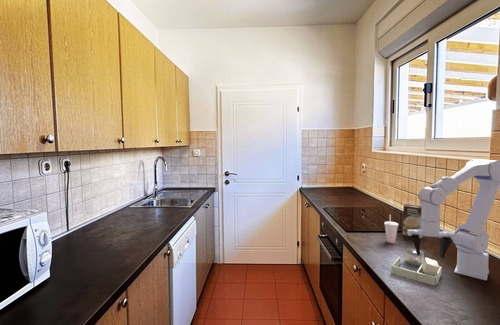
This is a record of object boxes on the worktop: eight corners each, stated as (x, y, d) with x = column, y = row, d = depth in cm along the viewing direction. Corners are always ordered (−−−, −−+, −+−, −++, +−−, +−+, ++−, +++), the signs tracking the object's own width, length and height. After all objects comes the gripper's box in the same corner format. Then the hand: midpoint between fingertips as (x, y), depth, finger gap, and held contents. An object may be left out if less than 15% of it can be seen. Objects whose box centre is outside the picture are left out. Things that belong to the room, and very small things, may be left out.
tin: (425, 262, 115) (425, 251, 114) (421, 267, 110) (422, 256, 110) (407, 257, 119) (407, 247, 119) (403, 262, 114) (403, 251, 114)
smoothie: (385, 238, 143) (386, 212, 142) (399, 241, 139) (399, 214, 138) (382, 242, 138) (382, 215, 137) (396, 245, 134) (397, 217, 133)
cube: (433, 269, 103) (436, 261, 102) (435, 276, 100) (439, 267, 98) (421, 265, 105) (424, 257, 103) (423, 272, 101) (427, 263, 100)
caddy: (441, 274, 104) (441, 266, 103) (436, 286, 96) (436, 277, 95) (399, 263, 114) (399, 256, 113) (391, 273, 106) (391, 265, 105)
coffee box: (402, 234, 148) (402, 205, 147) (405, 231, 153) (405, 203, 152) (421, 238, 142) (422, 208, 141) (424, 235, 146) (424, 206, 145)
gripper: (450, 218, 102) (449, 253, 103) (406, 215, 107) (405, 249, 108) (457, 223, 95) (456, 261, 96) (409, 220, 100) (409, 256, 101)
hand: (429, 255), depth 101 cm, fingers open, 7 cm apart
